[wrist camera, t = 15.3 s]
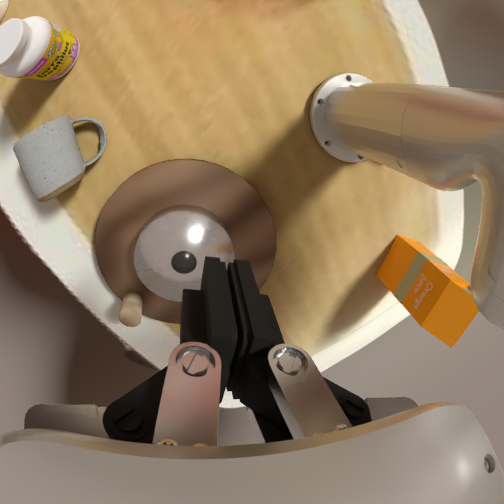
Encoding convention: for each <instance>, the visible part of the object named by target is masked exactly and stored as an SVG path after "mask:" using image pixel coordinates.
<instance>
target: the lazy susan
mask: <svg viewBox="0 0 504 504" xmlns="http://www.w3.org/2000/svg"><path fill="white" fill-rule="evenodd" d="M174 205H195V206H198V207H202V208H204V209H207V210H208V211H210V212H212V213H213V214H215V215H216V216H217V217H218V218H219V219H220V220H221V221H222V222H223V224H224V225H225V226H226V228H227V230H228V232H229V235H230V238H231V242H232V245H233V248H234V253H235V259H239V260H249V262H250V264H251V268H252V271H253V274H254V277H255V280H256V284H257V287H258V290H259V289H260V288H261V287H262V285H263V284H264V282H265V281H266V279H267V277H268V275H269V273H270V271H271V268H272V266H273V262H274V259H275V253H276V232H275V226H274V223H273V220H272V216H271V214H270V212H269V210H268V208H267V206H266V204H265V203H264V201H263V200H262V198H261V197H260V195H259V194H258V193H257V191H256V190H255V189H254V188H253V187H252V186H251V185H250V184H249V183H248V182H247V181H246V180H244V179H243V178H242V177H241V176H239V175H238V174H236V173H234V172H233V171H231V170H229V169H227V168H225V167H223V166H220V165H218V164H215V163H211V162H208V161H204V160H196V159H174V160H168V161H163V162H160V163H156V164H153V165H150V166H148V167H146V168H144V169H142V170H140V171H138V172H137V173H135V174H134V175H132V176H131V177H129V178H128V179H127V180H126V181H125V182H123V183H122V184H121V185H120V186H119V187H118V189H117V190H116V191H115V192H114V193H113V195H112V196H111V197H110V198H109V200H108V201H107V203H106V205H105V207H104V208H103V210H102V213H101V215H100V218H99V220H98V224H97V229H96V236H95V249H96V256H97V261H98V265H99V267H100V270H101V273H102V275H103V277H104V279H105V280H106V282H107V284H108V285H109V287H110V288H111V289H112V291H113V292H114V293H115V294H116V295H117V296H118V297H119V298H120V299H121V300H122V305H121V309H120V314H119V320H120V321H121V323H122V324H124V325H126V326H129V327H135V326H137V325H139V324H140V321H141V314H143V315H145V316H148V317H150V318H153V319H156V320H160V321H164V322H170V323H179V324H181V305H182V302H177V301H172V300H168V299H165V298H162V297H160V296H158V295H156V294H155V293H153V292H152V291H150V290H149V289H148V288H147V287H146V286H145V285H144V284H143V282H142V281H141V280H140V278H139V276H138V274H137V272H136V269H135V265H134V251H135V246H136V243H137V240H138V238H139V235H140V232H141V230H142V228H143V226H144V224H145V223H146V222H147V220H148V219H149V218H150V217H151V216H153V215H154V214H155V213H157V212H158V211H160V210H162V209H164V208H167V207H170V206H174Z"/></svg>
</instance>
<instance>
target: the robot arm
mask: <svg viewBox="0 0 504 504" xmlns="http://www.w3.org/2000/svg"><path fill="white" fill-rule="evenodd" d="M346 78H347V80H346ZM317 100H318V101H319V103H317ZM310 123H311V128H312V131H313V133H314V136H315V138H316V140H317V141H318V143H319V145H320V146H321V147H322V148H323V149H324V150H325V151H326V152H327V153H329V154H330V155H331V156H333V157H335V158H337V159H340V160H342V161H345V162H352V163H353V162H361V161H365V160H367V159H370V160H373V161H375V162H378V163H380V164H382V165H385V166H387V167H389V168H392V169H394V170H396V171H399V172H401V173H403V174H405V175H407V176H409V177H412V178H414V179H416V180H418V181H420V182H422V183H424V184H427V185H429V186H431V187H433V188H435V189H438V190H442V191H457V190H461V189H463V188H466V187H468V186H470V185H472V184H473V183H475V182H477V181H479V182H480V184H481V187H482V204H481V218H480V226H479V232H478V238H477V243H476V248H475V255H474V259H473V265H472V271H471V291H472V296H473V300H474V302H475V304H476V306H477V308H478V310H479V311H480V312H481V314H482V315H483V316H484V317H485V318H486V319H487V320H488V321H490V322H491V323H493V324H494V325H496V326H498V327H500V328H502V329H504V92H499V91H486V90H473V89H463V88H454V87H445V86H435V85H422V84H406V83H374V82H373V81H372V80H370V79H369V78H367V77H365V76H363V75H360V74H356V73H341V74H337V75H334V76H331V77H330V78H328V79H326V80H325V81H324V82H323V83H322V84H321V85H320V86H319V87H318V89H317V90H316V92H315V93H314V96H313V99H312V101H311V106H310ZM325 141H326V144H325ZM225 388H227V391H232V395H233V399H240V402H241V403H243V404H244V405H246V410H247V414H248V417H249V419H250V422H251V424H252V427H253V429H254V432H255V434H256V437H257V439H258V442H259V444H249V445H235V446H217V440H218V439H217V437H218V418H219V404H220V403H221V402H222V398H223V395H224V391H225ZM0 504H504V473H503V470H502V468H501V465H500V463H499V461H498V459H497V456H496V454H495V452H494V450H493V448H492V446H491V444H490V442H489V440H488V438H487V436H486V434H485V432H484V431H483V429H482V427H481V426H480V424H479V422H478V421H477V419H476V418H475V417H474V415H473V414H472V413H471V411H470V410H469V409H468V408H466V407H464V406H463V405H460V404H457V403H448V402H437V403H430V404H425V405H421V406H417V404H416V403H415V402H414V401H413V400H412V399H410V398H406V397H396V398H366V399H365V400H363V399H362V398H360V397H359V396H357V395H355V394H353V393H351V392H349V391H348V390H346V389H344V388H342V387H340V386H338V385H336V384H335V383H333V382H331V381H329V380H328V379H326V378H324V377H322V375H321V373H320V372H319V370H318V368H317V367H316V365H315V363H314V362H313V360H312V358H311V357H310V355H309V354H308V353H307V352H306V351H305V350H303V349H302V348H300V347H298V346H296V345H292V344H285V343H284V340H283V337H282V334H281V331H280V328H279V325H278V323H277V320H276V317H275V314H274V311H273V308H272V305H271V302H270V300H269V297H268V296H267V295H263V294H260V293H259V290H258V287H257V284H256V280H255V277H254V274H253V271H252V268H251V264H250V262H249V260H239V259H234V261H233V263H231V262H229V263H228V267H227V270H226V264H225V262H221V261H220V258H219V257H209V256H205V260H204V266H203V273H202V280H201V287H200V290H194V289H183V293H182V305H181V324H180V345H178V346H177V347H176V348H175V349H174V350H173V351H172V353H171V355H170V359H169V364H168V366H167V367H165V368H164V369H162V370H161V371H159V372H158V373H156V374H155V375H154V376H152V377H151V378H149V379H148V380H146V381H145V382H143V383H142V384H140V385H139V386H137V387H136V388H134V389H133V390H131V391H130V392H128V393H127V394H125V395H124V396H122V397H120V398H119V399H117V400H116V401H114V402H113V403H112V404H111V405H109V406H108V407H96V405H52V404H50V405H49V404H38V405H34V406H32V407H31V408H30V409H29V410H28V411H27V413H26V415H25V419H24V429H20V430H14V431H10V432H6V433H3V434H1V435H0Z"/></svg>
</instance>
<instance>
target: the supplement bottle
mask: <svg viewBox="0 0 504 504" xmlns="http://www.w3.org/2000/svg"><path fill="white" fill-rule="evenodd" d="M79 51H80V44H79V40H78V38H77V37H76V36H75V35H74V34H72V33H71V32H69V31H67V30H66V29H64V28H62V27H60V26H58V25H56V24H54V23H52V22H50V21H48V20H46V19H44V18H42V17H39V16H33V17H28V18H26V19H24V20H20V19H17V18H13V19H10V20H8V21H6V22H4V23H3V24H2V25H1V26H0V72H1V73H2V74H3V75H5V76H7V77H11V78H26V79H38V80H56V79H58V78H60V77H62V76H64V75H65V74H66V73H67V72H68V71H69V70H70V69H71V68H72V67H73V65H74V64H75V62H76V60H77V58H78V56H79Z"/></svg>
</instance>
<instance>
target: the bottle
mask: <svg viewBox="0 0 504 504" xmlns="http://www.w3.org/2000/svg"><path fill="white" fill-rule="evenodd" d="M8 2H9V0H0V22H1V20H2V18H3V17H4V15H5V13H6V10H7V7H8Z"/></svg>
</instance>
